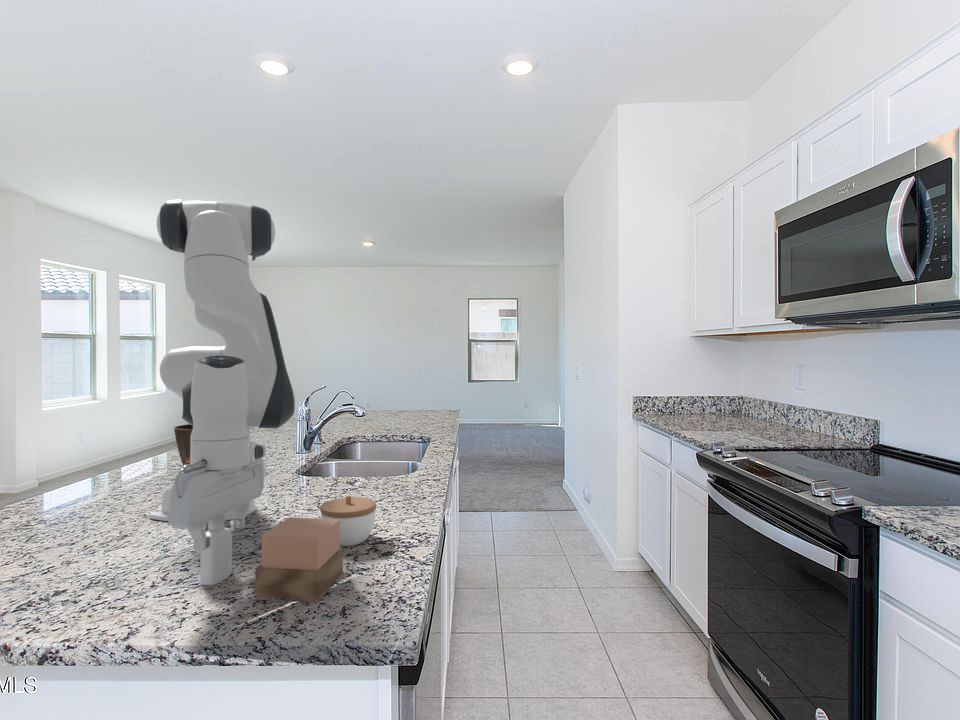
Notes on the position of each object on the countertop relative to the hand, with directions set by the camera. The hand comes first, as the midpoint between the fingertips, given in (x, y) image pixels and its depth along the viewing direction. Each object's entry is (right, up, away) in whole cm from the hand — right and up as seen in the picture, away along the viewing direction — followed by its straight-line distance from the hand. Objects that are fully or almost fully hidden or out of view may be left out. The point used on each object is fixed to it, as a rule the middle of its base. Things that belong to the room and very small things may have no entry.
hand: (220, 539), depth 87 cm
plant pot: (-40, -6, +71) cm, 82 cm away
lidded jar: (+16, -7, +18) cm, 26 cm away
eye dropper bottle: (-1, -7, +1) cm, 7 cm away
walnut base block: (+14, -8, -1) cm, 16 cm away
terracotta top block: (+14, -2, -1) cm, 14 cm away
